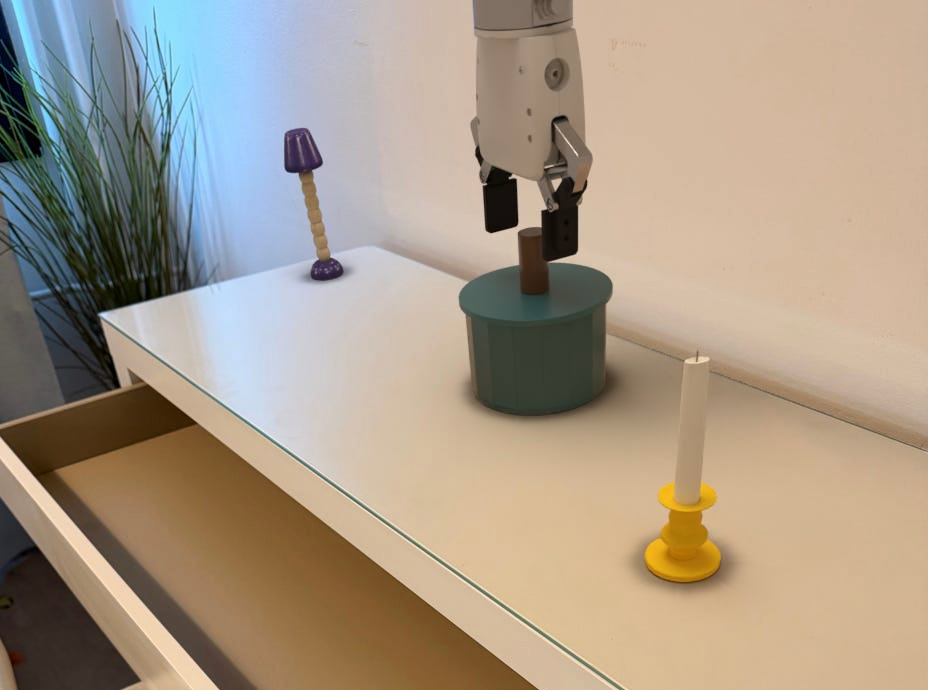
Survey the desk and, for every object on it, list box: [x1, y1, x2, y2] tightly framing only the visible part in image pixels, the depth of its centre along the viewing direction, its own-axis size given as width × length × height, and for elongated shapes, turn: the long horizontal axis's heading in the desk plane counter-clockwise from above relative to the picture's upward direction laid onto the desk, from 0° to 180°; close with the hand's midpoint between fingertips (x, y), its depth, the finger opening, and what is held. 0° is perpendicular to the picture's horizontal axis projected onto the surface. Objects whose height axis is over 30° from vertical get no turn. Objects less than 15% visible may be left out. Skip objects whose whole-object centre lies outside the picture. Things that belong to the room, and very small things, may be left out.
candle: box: [644, 350, 722, 583], centre depth 61 cm, size 5×5×16 cm
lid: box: [458, 226, 614, 327], centre depth 82 cm, size 14×14×6 cm
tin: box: [464, 304, 607, 416], centre depth 86 cm, size 13×13×8 cm
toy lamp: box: [283, 127, 344, 281], centre depth 114 cm, size 5×5×17 cm
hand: (530, 242), depth 81 cm, fingers open, 9 cm apart
